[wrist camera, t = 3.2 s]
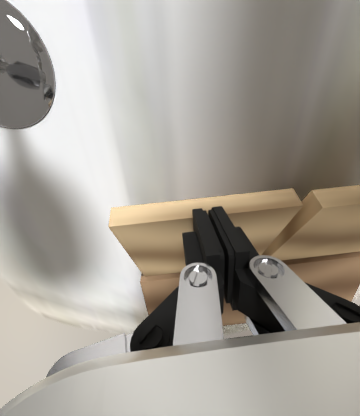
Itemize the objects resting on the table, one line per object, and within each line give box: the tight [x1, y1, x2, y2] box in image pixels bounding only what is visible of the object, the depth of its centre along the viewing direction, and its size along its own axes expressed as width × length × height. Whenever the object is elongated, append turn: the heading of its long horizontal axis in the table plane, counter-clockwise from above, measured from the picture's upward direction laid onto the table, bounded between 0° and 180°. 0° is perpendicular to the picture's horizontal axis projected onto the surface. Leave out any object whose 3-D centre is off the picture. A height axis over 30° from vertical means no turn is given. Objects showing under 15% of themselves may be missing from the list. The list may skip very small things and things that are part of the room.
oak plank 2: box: [262, 185, 360, 261], centre depth 15 cm, size 10×11×1 cm
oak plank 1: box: [109, 188, 303, 276], centre depth 15 cm, size 10×11×1 cm
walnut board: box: [140, 251, 360, 326], centre depth 21 cm, size 9×24×1 cm, turn 95°
